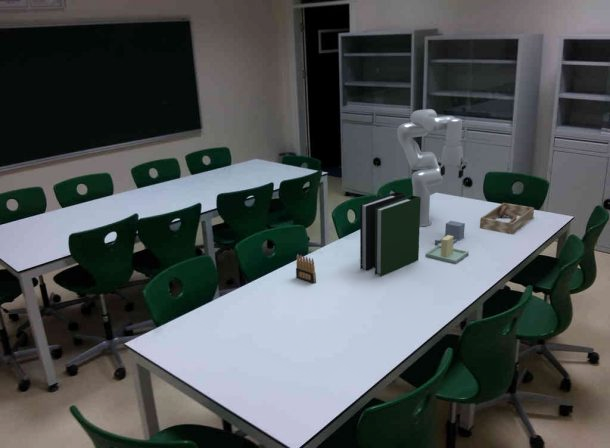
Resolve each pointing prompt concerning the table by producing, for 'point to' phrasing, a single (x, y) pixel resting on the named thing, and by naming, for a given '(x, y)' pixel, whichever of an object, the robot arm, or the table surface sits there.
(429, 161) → the robot arm
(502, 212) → the toilet paper hanger
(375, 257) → the pair of upright books
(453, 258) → the tray
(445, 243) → the block
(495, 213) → the frame
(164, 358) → the table surface
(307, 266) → the ammunition clip
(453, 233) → the dispenser
